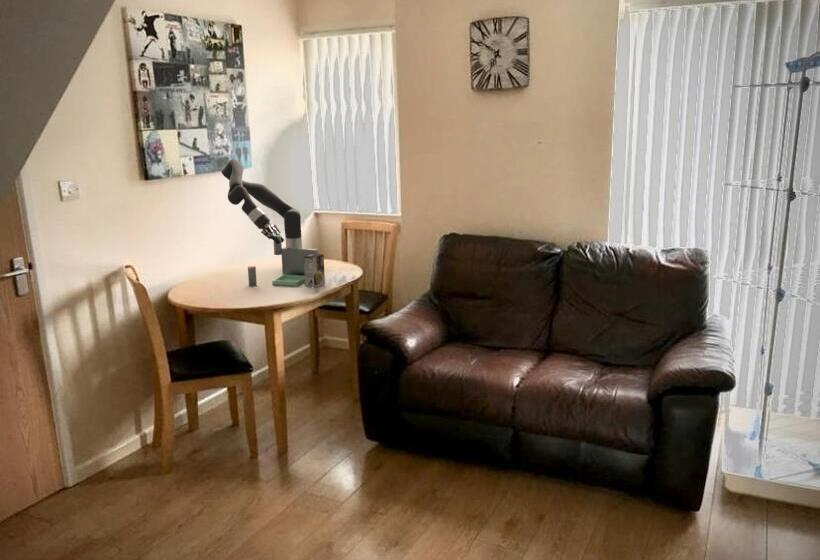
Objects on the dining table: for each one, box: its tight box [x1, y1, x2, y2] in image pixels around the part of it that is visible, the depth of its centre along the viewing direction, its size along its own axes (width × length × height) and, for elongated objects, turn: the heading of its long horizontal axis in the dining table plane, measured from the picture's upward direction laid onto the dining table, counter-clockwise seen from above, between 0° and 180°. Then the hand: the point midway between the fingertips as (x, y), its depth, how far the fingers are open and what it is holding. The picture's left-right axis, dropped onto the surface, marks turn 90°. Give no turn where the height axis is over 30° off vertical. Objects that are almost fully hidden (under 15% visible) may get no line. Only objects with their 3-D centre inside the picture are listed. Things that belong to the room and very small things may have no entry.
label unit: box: [281, 246, 319, 276], centre depth 363 cm, size 8×20×16 cm, turn 76°
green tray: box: [271, 273, 305, 287], centre depth 354 cm, size 14×14×2 cm
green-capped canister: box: [273, 234, 283, 256], centre depth 351 cm, size 4×4×10 cm
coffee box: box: [304, 252, 326, 289], centre depth 347 cm, size 9×6×16 cm
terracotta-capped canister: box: [247, 265, 258, 286], centre depth 349 cm, size 4×4×10 cm
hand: (281, 242), depth 350 cm, fingers closed on green-capped canister, 4 cm apart
